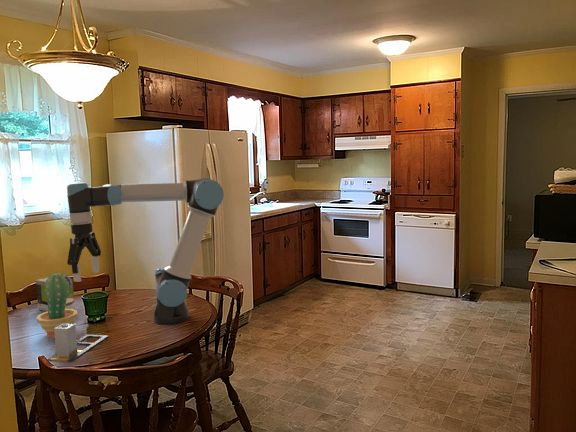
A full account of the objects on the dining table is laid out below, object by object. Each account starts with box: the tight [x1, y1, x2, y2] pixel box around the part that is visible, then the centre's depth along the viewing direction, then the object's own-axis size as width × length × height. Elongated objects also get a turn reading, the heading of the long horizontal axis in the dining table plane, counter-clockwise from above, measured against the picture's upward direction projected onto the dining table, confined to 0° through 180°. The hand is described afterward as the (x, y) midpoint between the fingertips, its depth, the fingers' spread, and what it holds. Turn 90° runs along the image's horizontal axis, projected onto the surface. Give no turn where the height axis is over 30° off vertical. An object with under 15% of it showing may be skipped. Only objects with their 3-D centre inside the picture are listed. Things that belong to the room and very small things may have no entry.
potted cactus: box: [35, 272, 78, 338], centre depth 198 cm, size 15×15×25 cm
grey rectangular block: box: [54, 323, 78, 359], centre depth 176 cm, size 5×5×11 cm
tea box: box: [35, 277, 75, 312], centre depth 231 cm, size 15×10×15 cm
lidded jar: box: [65, 298, 75, 310], centre depth 218 cm, size 11×11×9 cm
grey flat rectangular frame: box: [47, 334, 109, 363], centre depth 184 cm, size 10×24×1 cm, turn 170°
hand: (87, 276), depth 190 cm, fingers open, 13 cm apart
